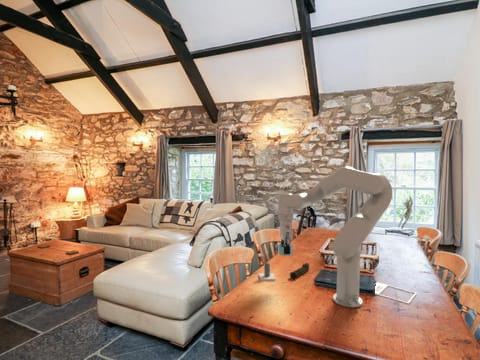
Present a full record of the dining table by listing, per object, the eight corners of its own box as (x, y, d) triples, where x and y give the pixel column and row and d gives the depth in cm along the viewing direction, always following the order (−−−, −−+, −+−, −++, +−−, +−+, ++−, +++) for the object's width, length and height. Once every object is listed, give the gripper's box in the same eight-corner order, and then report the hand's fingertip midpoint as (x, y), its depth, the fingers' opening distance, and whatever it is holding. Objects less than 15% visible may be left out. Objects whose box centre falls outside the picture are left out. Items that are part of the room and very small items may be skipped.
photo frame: (377, 281, 149) (416, 292, 137) (377, 283, 150) (416, 294, 137) (367, 290, 139) (408, 302, 126) (367, 292, 139) (408, 305, 127)
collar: (293, 255, 142) (293, 247, 142) (279, 255, 142) (279, 247, 142) (290, 251, 149) (290, 243, 149) (277, 251, 149) (277, 243, 149)
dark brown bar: (296, 280, 153) (296, 272, 153) (289, 278, 156) (289, 270, 156) (313, 271, 167) (313, 263, 167) (306, 269, 170) (307, 261, 170)
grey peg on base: (275, 280, 152) (275, 265, 152) (260, 280, 152) (260, 265, 152) (273, 274, 160) (273, 260, 160) (259, 275, 160) (259, 260, 160)
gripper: (297, 220, 136) (296, 257, 137) (289, 214, 154) (289, 246, 154) (281, 220, 136) (281, 257, 137) (275, 214, 153) (275, 247, 154)
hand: (285, 251), depth 146 cm, fingers closed on collar, 7 cm apart
